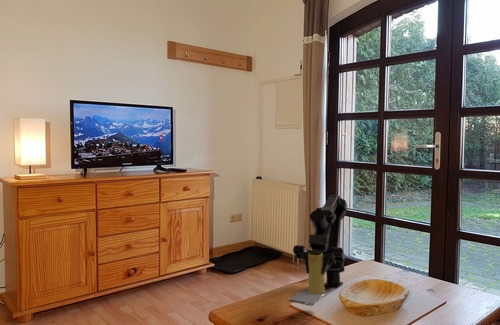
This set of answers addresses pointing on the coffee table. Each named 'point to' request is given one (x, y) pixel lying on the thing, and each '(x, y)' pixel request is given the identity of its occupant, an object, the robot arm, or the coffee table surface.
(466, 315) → the coffee table surface
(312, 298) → the mat
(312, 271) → the vase
